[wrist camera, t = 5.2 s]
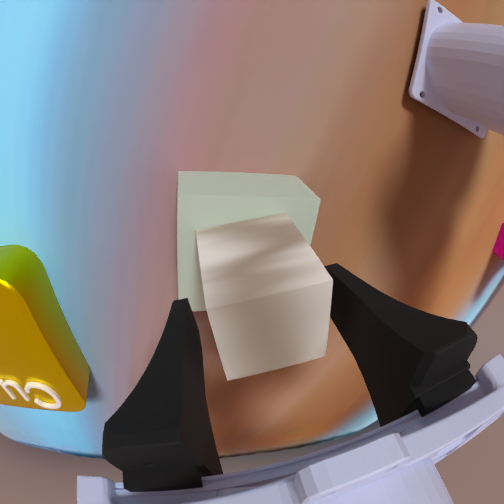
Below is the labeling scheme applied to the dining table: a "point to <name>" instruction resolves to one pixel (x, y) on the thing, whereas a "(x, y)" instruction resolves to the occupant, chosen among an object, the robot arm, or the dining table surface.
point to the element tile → (36, 339)
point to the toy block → (500, 243)
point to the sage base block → (232, 213)
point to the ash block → (264, 294)
